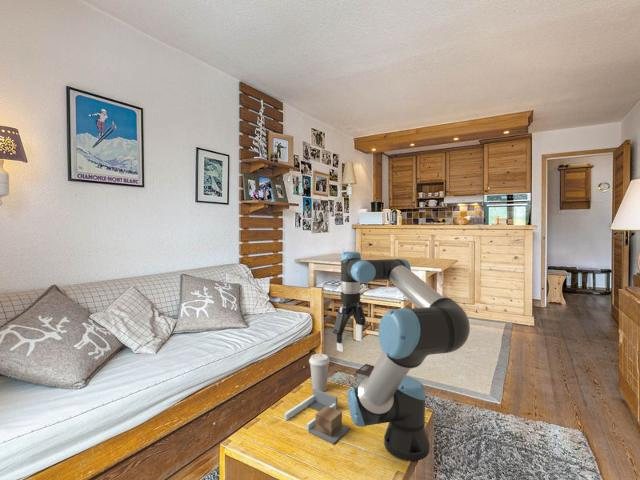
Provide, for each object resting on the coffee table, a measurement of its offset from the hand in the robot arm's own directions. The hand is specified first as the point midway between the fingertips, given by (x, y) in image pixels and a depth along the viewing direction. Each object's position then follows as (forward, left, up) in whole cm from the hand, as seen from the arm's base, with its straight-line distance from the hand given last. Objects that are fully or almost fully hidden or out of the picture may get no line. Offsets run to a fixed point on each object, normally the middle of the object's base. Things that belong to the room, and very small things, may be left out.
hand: (349, 345), depth 134 cm
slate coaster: (+1, +12, -29) cm, 31 cm away
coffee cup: (+23, -11, -29) cm, 39 cm away
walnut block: (+2, +12, -28) cm, 31 cm away
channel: (+13, +8, -29) cm, 33 cm away
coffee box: (-2, -11, -29) cm, 31 cm away
